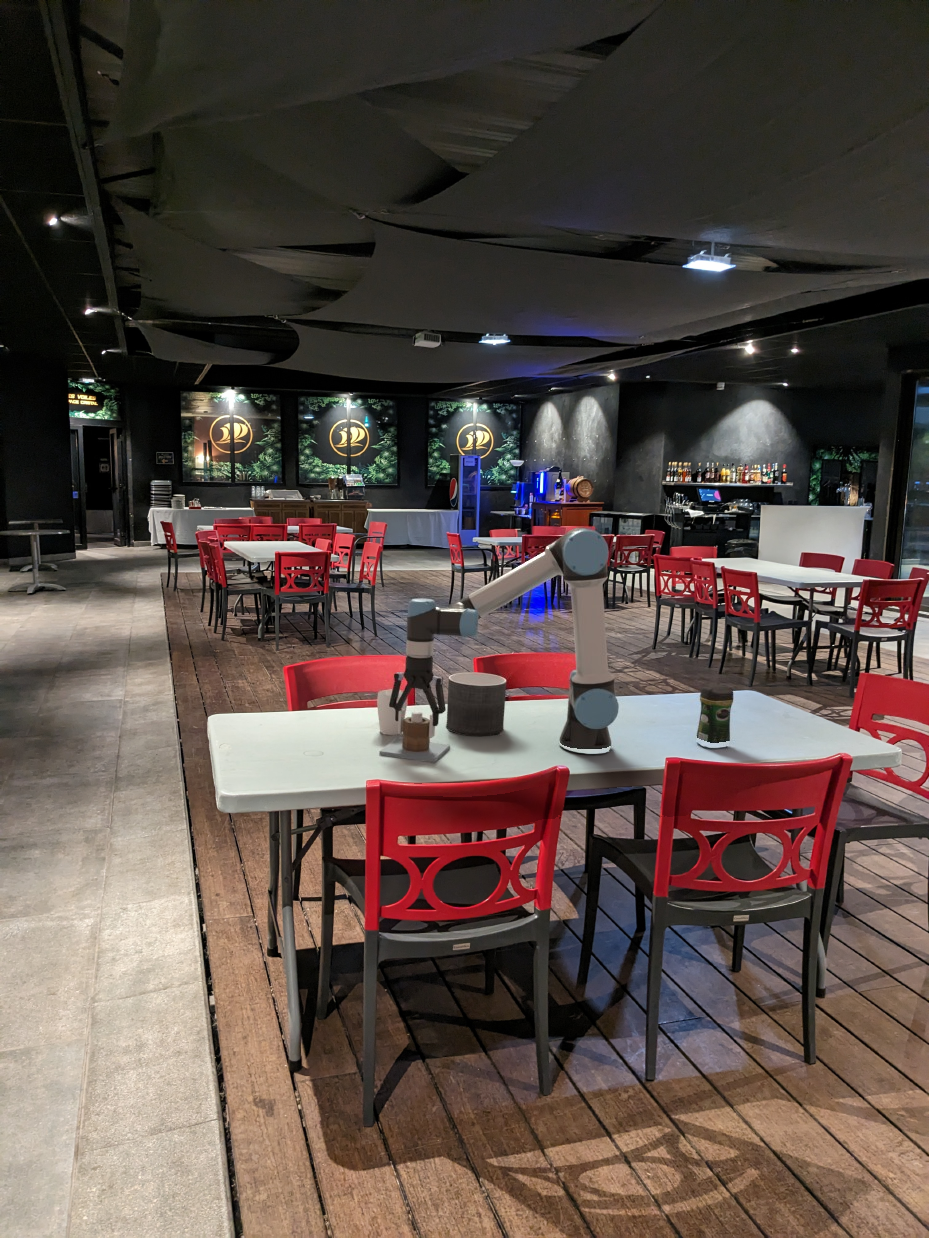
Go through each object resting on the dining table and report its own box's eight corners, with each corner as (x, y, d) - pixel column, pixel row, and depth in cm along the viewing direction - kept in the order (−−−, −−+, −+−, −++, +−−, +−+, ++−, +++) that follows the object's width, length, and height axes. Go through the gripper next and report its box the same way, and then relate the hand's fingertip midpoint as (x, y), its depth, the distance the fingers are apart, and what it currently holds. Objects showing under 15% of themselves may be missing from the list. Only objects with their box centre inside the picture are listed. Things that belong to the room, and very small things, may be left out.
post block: (450, 748, 243) (451, 710, 241) (434, 762, 230) (436, 722, 228) (397, 740, 247) (398, 704, 246) (379, 754, 234) (380, 715, 232)
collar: (431, 746, 241) (432, 718, 240) (423, 753, 234) (425, 724, 233) (408, 742, 243) (409, 715, 241) (399, 749, 236) (400, 721, 235)
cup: (401, 737, 251) (403, 697, 249) (372, 734, 253) (373, 694, 251) (409, 729, 260) (411, 691, 258) (381, 726, 262) (382, 688, 260)
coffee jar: (717, 740, 264) (723, 682, 262) (733, 748, 257) (739, 688, 254) (690, 742, 261) (696, 683, 258) (706, 750, 254) (712, 689, 251)
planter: (437, 730, 260) (439, 680, 257) (459, 717, 276) (461, 670, 274) (491, 740, 253) (494, 688, 251) (511, 725, 270) (514, 677, 267)
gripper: (460, 656, 235) (456, 735, 239) (388, 648, 241) (385, 726, 244) (452, 661, 228) (448, 743, 231) (378, 653, 234) (375, 733, 237)
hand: (416, 734), depth 238 cm, fingers open, 8 cm apart
